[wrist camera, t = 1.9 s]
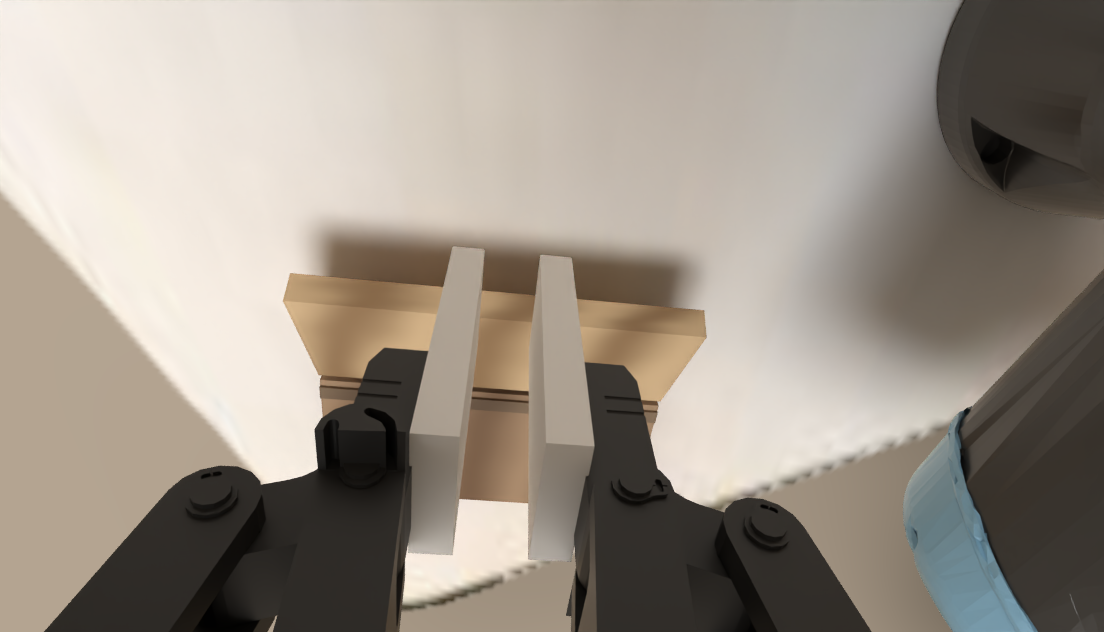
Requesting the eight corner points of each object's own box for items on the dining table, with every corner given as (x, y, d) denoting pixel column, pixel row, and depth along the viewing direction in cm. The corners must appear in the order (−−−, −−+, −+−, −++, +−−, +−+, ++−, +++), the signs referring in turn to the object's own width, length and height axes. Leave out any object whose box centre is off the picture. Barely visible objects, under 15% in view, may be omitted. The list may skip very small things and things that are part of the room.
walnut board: (654, 390, 41) (658, 407, 40) (628, 493, 46) (631, 511, 44) (326, 364, 39) (318, 381, 38) (334, 473, 44) (327, 492, 43)
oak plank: (704, 310, 33) (706, 337, 32) (659, 378, 40) (660, 401, 40) (290, 273, 31) (282, 300, 30) (324, 351, 39) (318, 375, 38)
